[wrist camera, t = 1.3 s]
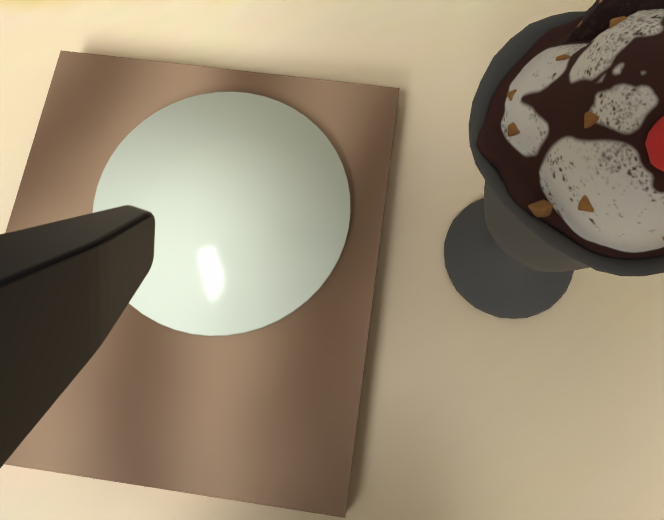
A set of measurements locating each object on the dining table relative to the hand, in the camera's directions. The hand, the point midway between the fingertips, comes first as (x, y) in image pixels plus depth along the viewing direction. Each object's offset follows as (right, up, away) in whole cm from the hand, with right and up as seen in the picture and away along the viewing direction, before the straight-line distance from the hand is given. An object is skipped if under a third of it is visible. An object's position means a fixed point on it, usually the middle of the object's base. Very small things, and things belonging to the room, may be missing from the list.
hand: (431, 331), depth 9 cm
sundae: (+5, +1, +15) cm, 16 cm away
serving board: (-7, +1, +15) cm, 16 cm away
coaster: (-6, +3, +14) cm, 16 cm away
